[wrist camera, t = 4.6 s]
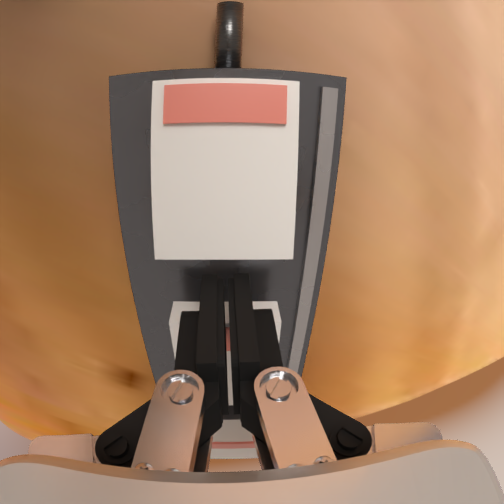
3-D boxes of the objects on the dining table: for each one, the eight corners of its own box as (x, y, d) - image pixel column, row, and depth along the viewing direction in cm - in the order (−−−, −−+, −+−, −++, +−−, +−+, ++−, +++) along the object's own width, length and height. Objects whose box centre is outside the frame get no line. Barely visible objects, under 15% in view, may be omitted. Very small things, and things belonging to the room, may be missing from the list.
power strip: (139, 13, 12) (110, -6, 8) (322, 15, 12) (352, -4, 9) (176, 395, 25) (172, 437, 21) (280, 394, 26) (287, 436, 22)
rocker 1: (161, 89, 10) (151, 80, 8) (291, 89, 10) (300, 80, 8) (163, 246, 11) (153, 261, 10) (285, 246, 12) (293, 260, 10)
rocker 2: (173, 301, 13) (168, 324, 12) (276, 301, 14) (282, 324, 12) (185, 384, 16) (183, 406, 15) (268, 383, 16) (271, 406, 15)
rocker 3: (191, 419, 17) (190, 442, 16) (265, 418, 17) (267, 442, 16) (200, 441, 21) (200, 460, 19) (259, 441, 21) (260, 459, 20)
